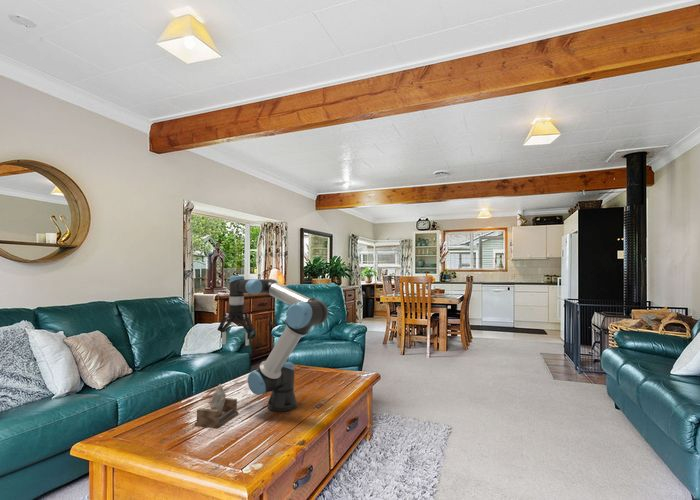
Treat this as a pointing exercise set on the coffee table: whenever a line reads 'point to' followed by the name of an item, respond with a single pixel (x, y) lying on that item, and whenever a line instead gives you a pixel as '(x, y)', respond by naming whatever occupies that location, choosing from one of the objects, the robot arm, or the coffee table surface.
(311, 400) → the coffee table surface
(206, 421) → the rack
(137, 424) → the coffee table surface
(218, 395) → the stone tool
